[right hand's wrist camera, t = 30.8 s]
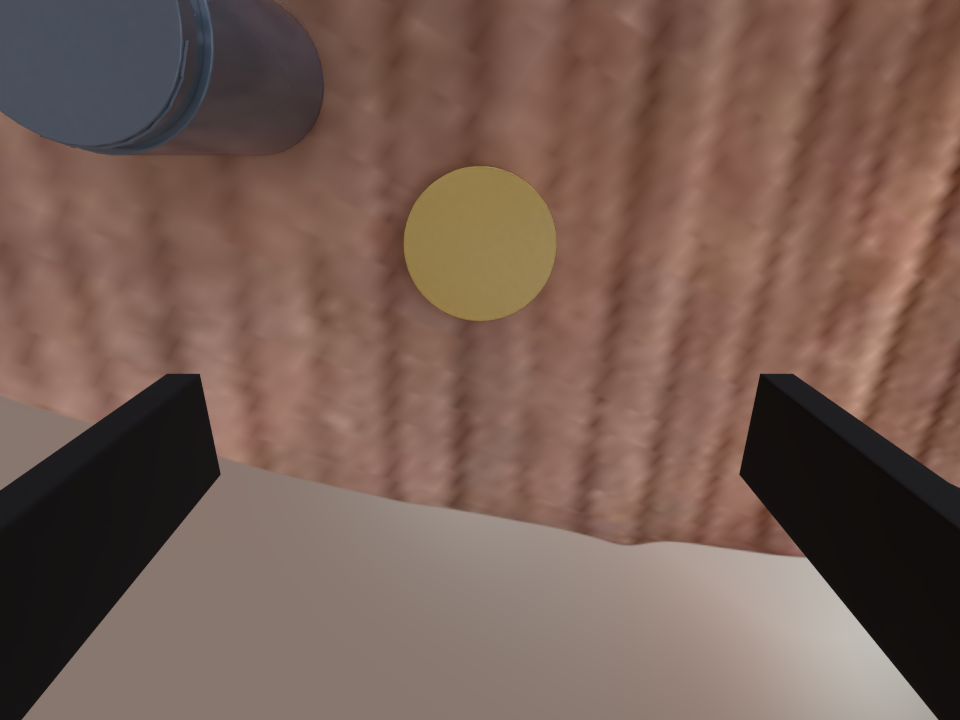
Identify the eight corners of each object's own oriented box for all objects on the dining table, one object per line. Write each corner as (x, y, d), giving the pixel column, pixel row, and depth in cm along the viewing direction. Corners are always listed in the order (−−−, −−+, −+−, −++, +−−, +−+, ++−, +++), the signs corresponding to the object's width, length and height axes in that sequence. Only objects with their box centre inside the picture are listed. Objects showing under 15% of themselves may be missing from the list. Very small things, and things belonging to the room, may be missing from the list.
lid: (562, 172, 37) (566, 173, 35) (543, 319, 41) (546, 326, 39) (409, 159, 37) (405, 159, 35) (404, 308, 41) (401, 315, 39)
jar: (168, 126, 36) (-84, 103, 20) (187, -33, 33) (-95, -215, 17) (306, 175, 37) (174, 190, 21) (338, 25, 34) (210, -92, 18)
